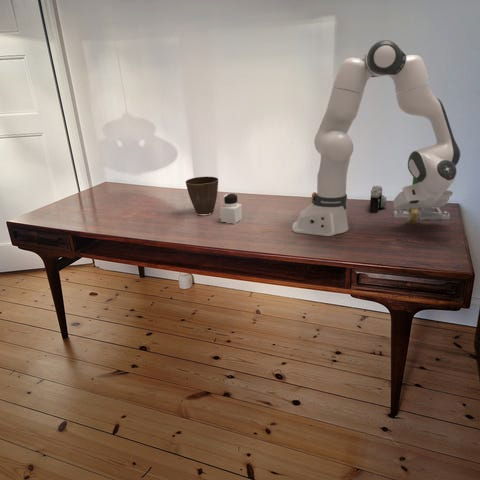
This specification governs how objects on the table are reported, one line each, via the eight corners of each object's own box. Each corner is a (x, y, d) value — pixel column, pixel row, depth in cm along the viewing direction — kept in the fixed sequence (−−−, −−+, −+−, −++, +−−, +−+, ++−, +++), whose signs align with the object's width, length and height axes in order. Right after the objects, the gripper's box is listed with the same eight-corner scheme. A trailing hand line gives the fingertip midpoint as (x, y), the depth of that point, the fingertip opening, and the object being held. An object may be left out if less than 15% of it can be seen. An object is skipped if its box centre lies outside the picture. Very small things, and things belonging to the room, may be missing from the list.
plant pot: (201, 220, 189) (198, 185, 183) (182, 214, 199) (179, 181, 194) (227, 212, 198) (224, 179, 192) (207, 207, 208) (205, 175, 202)
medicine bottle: (242, 219, 188) (241, 193, 183) (235, 224, 182) (233, 197, 177) (228, 218, 190) (226, 192, 186) (220, 222, 185) (218, 196, 180)
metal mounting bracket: (394, 219, 177) (394, 211, 176) (393, 213, 184) (393, 206, 183) (450, 221, 171) (451, 213, 170) (447, 215, 178) (448, 207, 177)
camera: (384, 214, 184) (386, 191, 181) (368, 213, 186) (370, 191, 183) (385, 204, 197) (387, 183, 193) (370, 203, 199) (372, 183, 196)
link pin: (408, 224, 171) (410, 202, 167) (407, 221, 174) (409, 200, 170) (417, 224, 170) (420, 202, 166) (417, 221, 173) (419, 200, 170)
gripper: (452, 183, 160) (436, 201, 172) (399, 187, 159) (387, 204, 171) (457, 198, 157) (440, 215, 170) (403, 201, 156) (390, 218, 169)
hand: (413, 210), depth 170 cm, fingers closed on link pin, 3 cm apart
